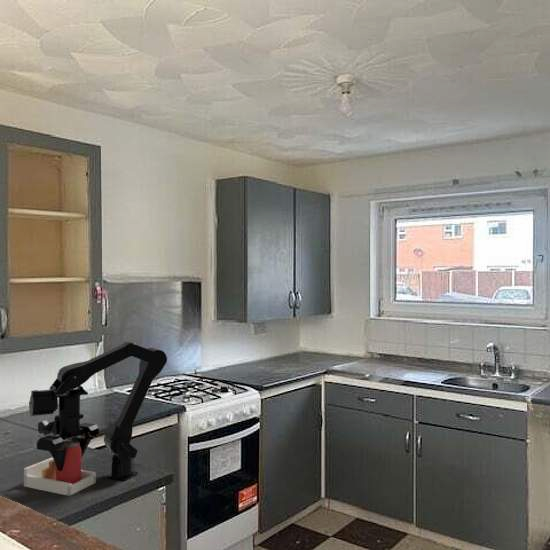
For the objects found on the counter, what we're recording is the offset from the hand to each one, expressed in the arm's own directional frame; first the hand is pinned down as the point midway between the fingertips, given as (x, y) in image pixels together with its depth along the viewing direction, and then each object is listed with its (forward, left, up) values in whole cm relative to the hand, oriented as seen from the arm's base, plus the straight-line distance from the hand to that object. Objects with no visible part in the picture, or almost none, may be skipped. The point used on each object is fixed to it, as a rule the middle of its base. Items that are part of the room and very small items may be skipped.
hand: (68, 466), depth 159 cm
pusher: (0, -5, -5) cm, 8 cm away
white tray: (0, -3, -5) cm, 6 cm away
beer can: (0, 0, -6) cm, 6 cm away
